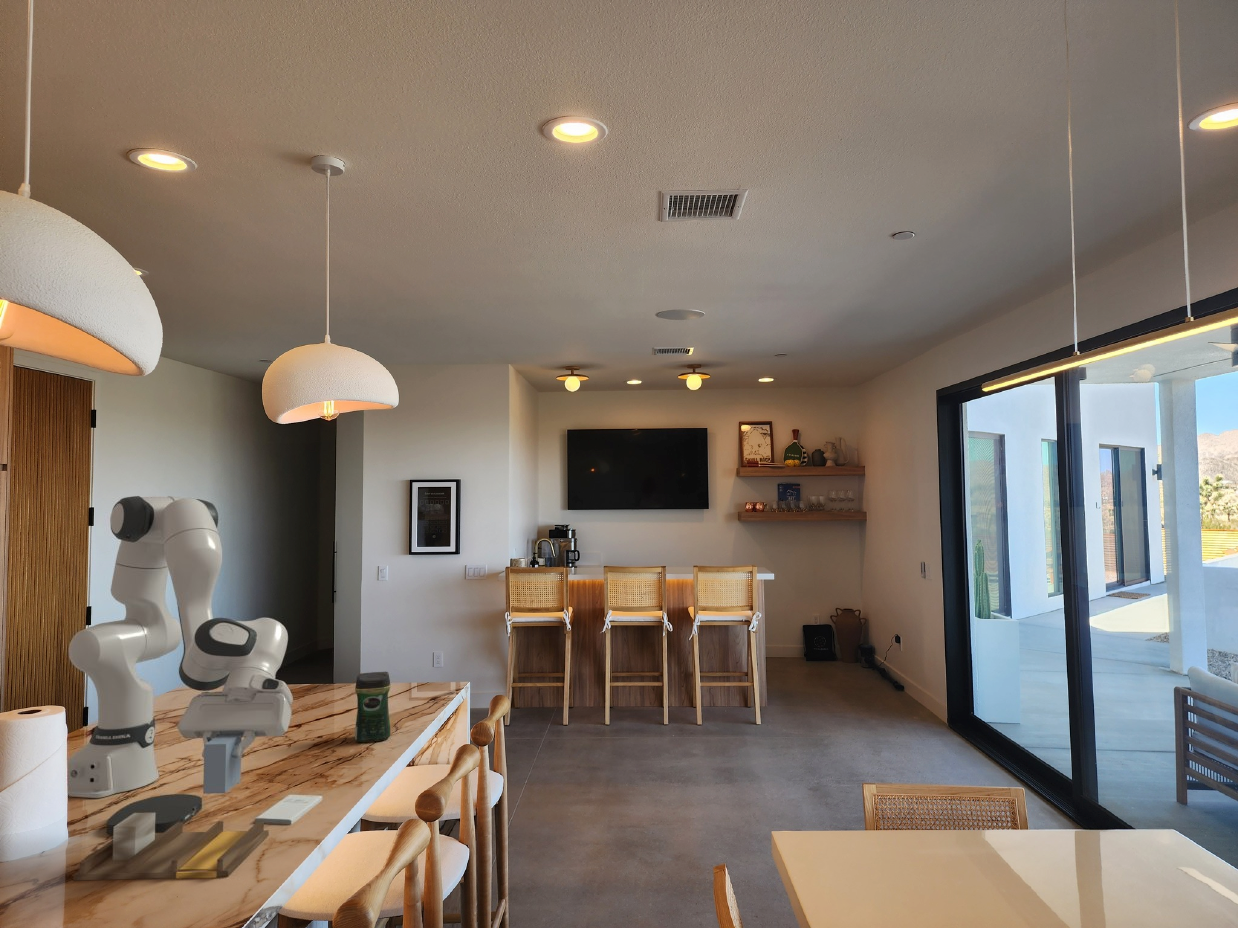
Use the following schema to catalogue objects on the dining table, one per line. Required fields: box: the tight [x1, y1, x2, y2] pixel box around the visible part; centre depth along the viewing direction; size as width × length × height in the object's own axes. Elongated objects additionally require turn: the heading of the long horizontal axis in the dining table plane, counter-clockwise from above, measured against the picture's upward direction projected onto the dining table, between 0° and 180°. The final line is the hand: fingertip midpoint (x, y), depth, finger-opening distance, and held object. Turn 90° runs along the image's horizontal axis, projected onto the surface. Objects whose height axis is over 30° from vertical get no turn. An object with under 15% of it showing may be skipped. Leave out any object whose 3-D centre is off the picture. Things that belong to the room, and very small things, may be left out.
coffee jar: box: [354, 671, 391, 743], centre depth 205 cm, size 10×8×19 cm
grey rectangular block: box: [202, 734, 243, 795], centre depth 137 cm, size 4×6×9 cm, turn 2°
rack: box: [72, 813, 270, 881], centre depth 136 cm, size 27×16×7 cm, turn 92°
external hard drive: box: [254, 794, 323, 826], centre depth 156 cm, size 2×8×12 cm
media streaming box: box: [106, 793, 203, 836], centre depth 152 cm, size 15×15×3 cm
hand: (221, 756), depth 137 cm, fingers closed on grey rectangular block, 4 cm apart
